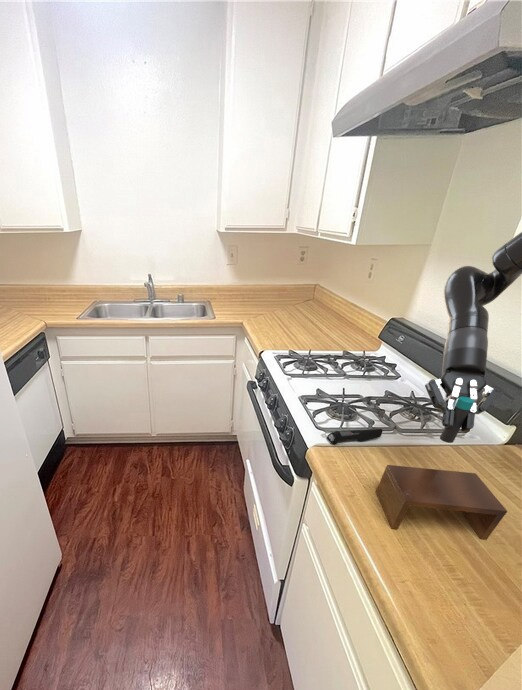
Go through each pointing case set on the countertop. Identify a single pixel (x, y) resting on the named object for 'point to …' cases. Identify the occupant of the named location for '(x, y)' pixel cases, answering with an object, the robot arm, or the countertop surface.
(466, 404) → the marker
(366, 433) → the electric trimmer
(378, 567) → the countertop surface
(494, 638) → the countertop surface
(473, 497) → the shelf
